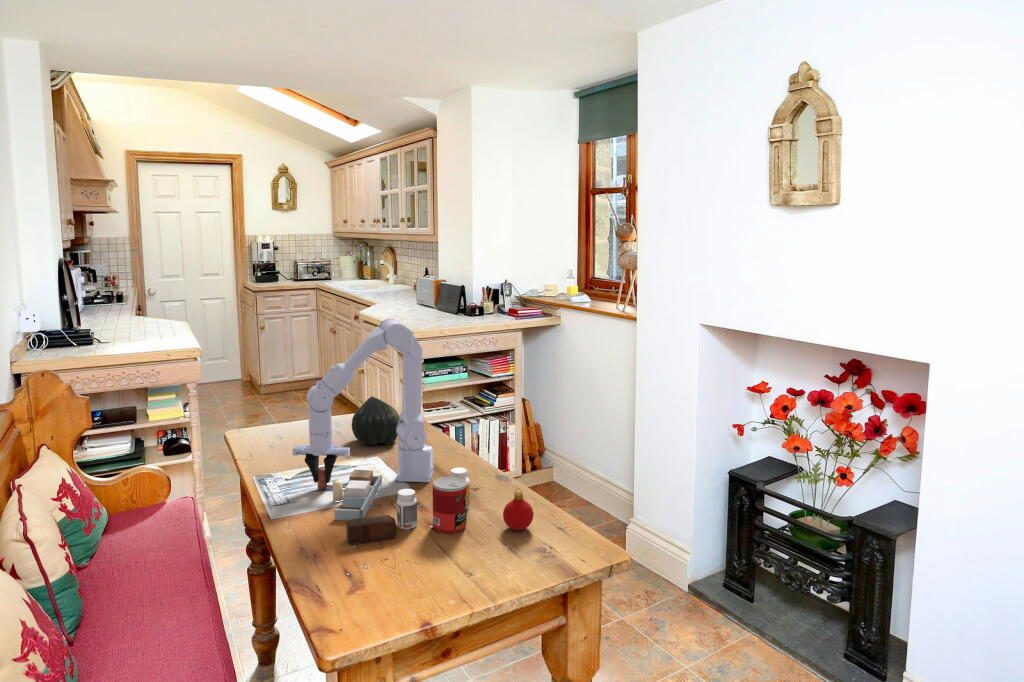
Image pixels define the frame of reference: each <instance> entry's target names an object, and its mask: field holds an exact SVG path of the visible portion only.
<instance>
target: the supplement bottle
mask: <svg viewBox="0 0 1024 682" xmlns="http://www.w3.org/2000/svg"><path fill="white" fill-rule="evenodd" d="M450 477H459V478H462V479H464V480H465V481H466V482H467V510H469V508H470V505H471V504H470V503H471V502H470V501H471V499H470V498H471V497H470V496H471V493H470V491H471V484H470V483H471V480H470V479H469V477H468V469H466V468H464V467H454V468H452V469H451V470H450Z"/></svg>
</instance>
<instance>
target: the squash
mask: <svg viewBox="0 0 1024 682" xmlns="http://www.w3.org/2000/svg"><path fill="white" fill-rule="evenodd" d="M399 421H400V414H399V412H398V410H397V409H395V407H393V406H392V405H390V404H388V403H387V402H385V401H383V400H381V399H379V398H377V397H374V396H370V397H369V398H368V399H366V401H364V402H363V404H362V405H361V406H359V408H358V409H357V410H356V412H354V415H353V417H352V419H351V430H352V433H353V435H354V438H355V439H357V441H358V442H360V443H361V444H362V445H364V446H372V445H377V444H378V443H381V444H384V445H390V444H392V443H394V442H395V441H396V439H397V438H398V437H399V436H398V435H397V432H396V428H397V425H398V423H399Z"/></svg>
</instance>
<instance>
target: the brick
mask: <svg viewBox="0 0 1024 682" xmlns="http://www.w3.org/2000/svg"><path fill="white" fill-rule="evenodd" d="M345 527H346V540H347V542H348V545H350V546H354V545H360V544H368V543H374V542H375V543H376V542H382V541H389V540H393V539H395V537H396V534H397V530H398V529H397V527H398V526H397V521H396V519H395V518H394V517H393V516H391V515H389V514H384V515H377V516H369V517H364V518H358V519H351V520H346V524H345Z"/></svg>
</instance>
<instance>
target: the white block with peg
mask: <svg viewBox="0 0 1024 682" xmlns="http://www.w3.org/2000/svg"><path fill="white" fill-rule="evenodd" d="M331 485H333V488H332V502H333V501H341V500H343V499H342V498H343V497H344V495H343V489H342V486H343V480H341V479H335V480H333V481H332V484H331ZM345 486H346V488H345V497H367V496H368V494H369V493H370V481H355V480H350V482H348V484H347V485H345Z"/></svg>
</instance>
